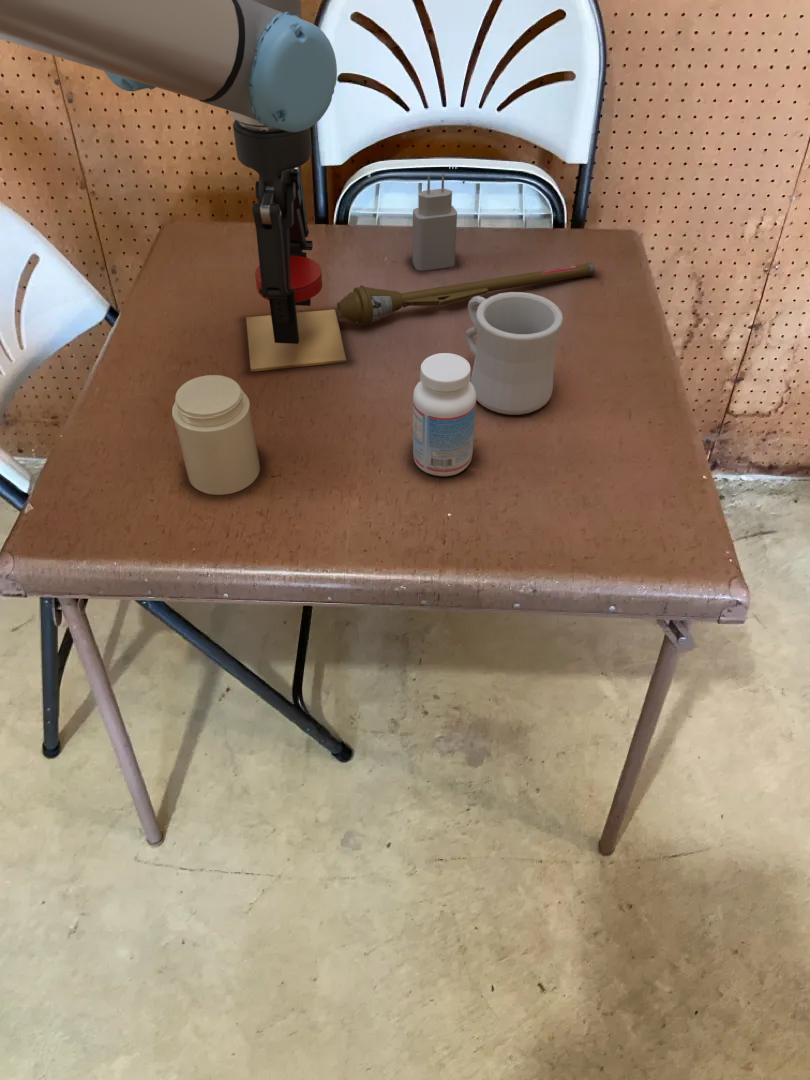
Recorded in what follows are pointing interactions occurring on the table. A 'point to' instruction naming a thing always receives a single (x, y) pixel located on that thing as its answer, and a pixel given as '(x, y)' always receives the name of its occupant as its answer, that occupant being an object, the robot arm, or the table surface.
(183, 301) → the table surface
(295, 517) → the table surface
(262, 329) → the coaster
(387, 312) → the toy grenade launcher
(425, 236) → the power adapter
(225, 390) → the beige jar
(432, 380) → the pill bottle
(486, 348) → the mug
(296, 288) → the lid
